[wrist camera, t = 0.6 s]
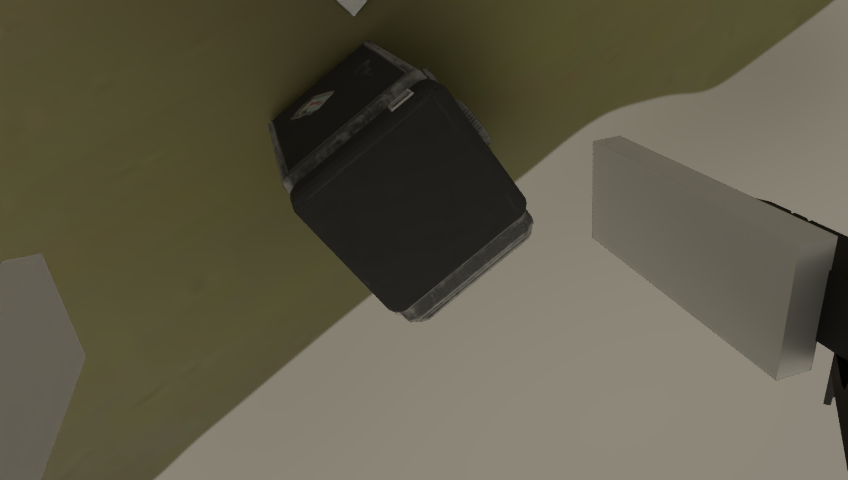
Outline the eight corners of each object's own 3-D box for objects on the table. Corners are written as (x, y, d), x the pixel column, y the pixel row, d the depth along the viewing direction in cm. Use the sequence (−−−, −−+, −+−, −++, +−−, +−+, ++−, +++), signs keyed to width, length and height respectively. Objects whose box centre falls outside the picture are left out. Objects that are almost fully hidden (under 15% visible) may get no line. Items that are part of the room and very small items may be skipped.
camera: (358, 244, 43) (415, 370, 30) (250, 130, 38) (264, 222, 25) (474, 148, 43) (583, 233, 30) (381, 20, 38) (464, 55, 25)
